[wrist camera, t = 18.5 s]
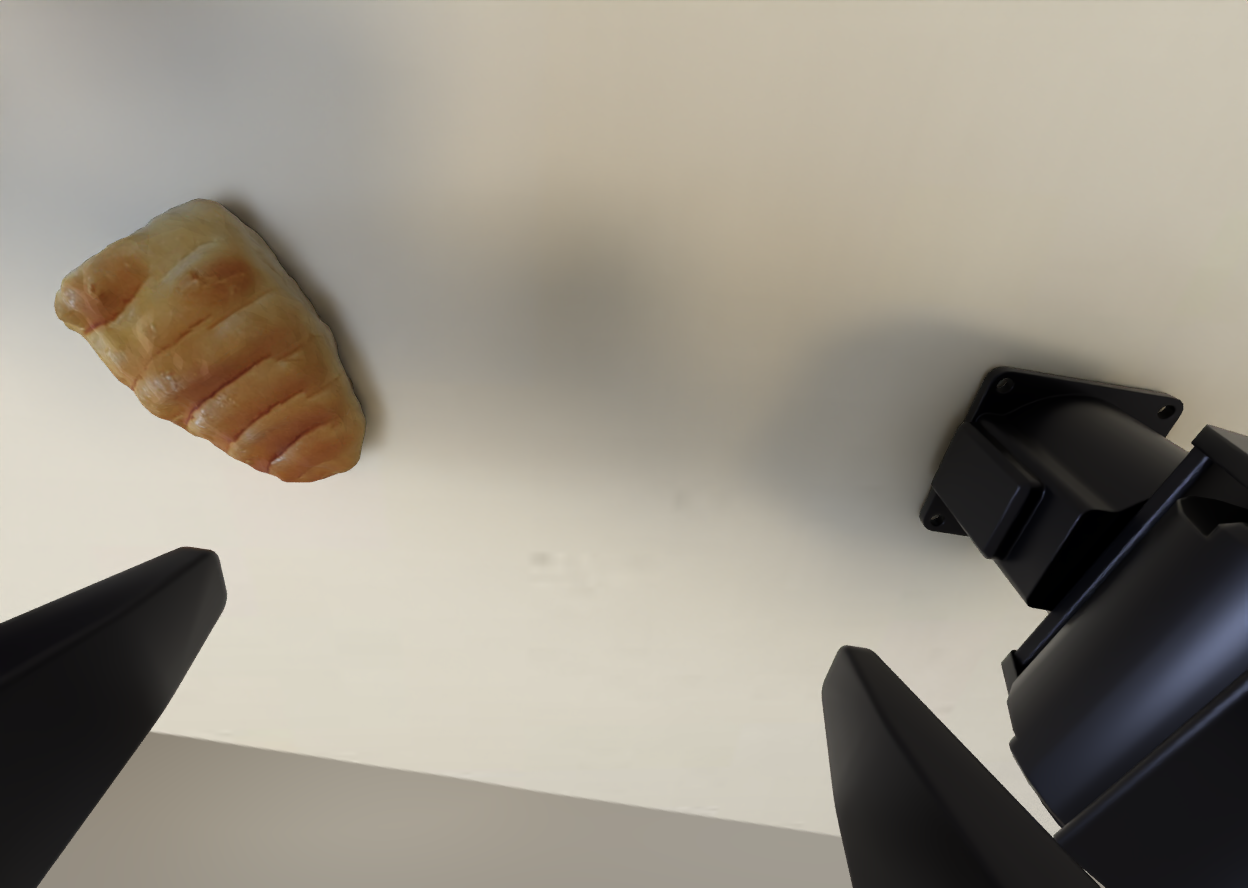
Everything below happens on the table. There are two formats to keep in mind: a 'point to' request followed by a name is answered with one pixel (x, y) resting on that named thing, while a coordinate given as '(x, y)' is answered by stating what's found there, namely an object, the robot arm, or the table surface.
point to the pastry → (219, 342)
